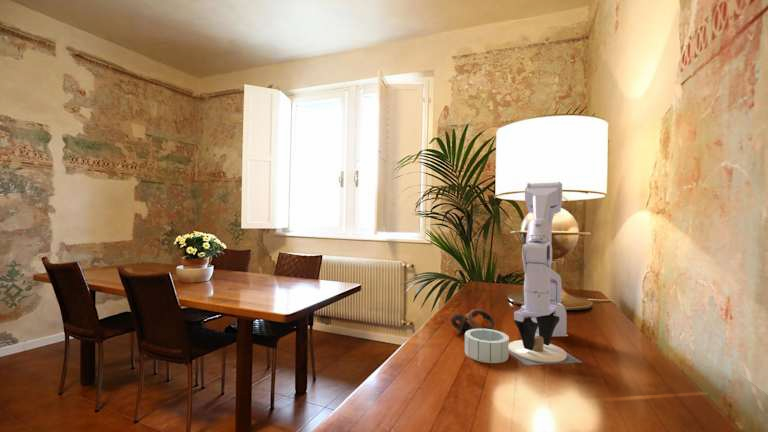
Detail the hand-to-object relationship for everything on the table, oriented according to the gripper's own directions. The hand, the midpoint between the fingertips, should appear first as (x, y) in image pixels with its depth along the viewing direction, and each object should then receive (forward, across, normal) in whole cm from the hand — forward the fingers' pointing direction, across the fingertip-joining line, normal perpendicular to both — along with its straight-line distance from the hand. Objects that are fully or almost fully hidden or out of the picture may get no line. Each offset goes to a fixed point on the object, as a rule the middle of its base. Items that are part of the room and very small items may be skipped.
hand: (536, 346), depth 83 cm
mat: (+2, 0, 0) cm, 2 cm away
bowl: (+2, +12, -5) cm, 13 cm away
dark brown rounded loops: (+2, +4, -18) cm, 18 cm away
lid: (+1, 0, 0) cm, 1 cm away
